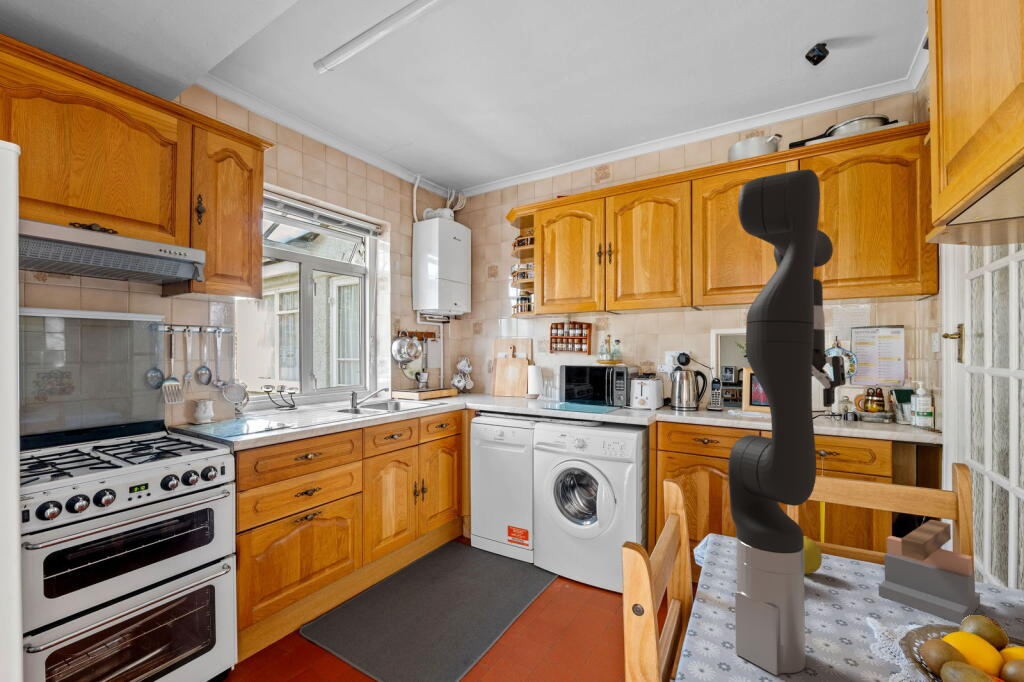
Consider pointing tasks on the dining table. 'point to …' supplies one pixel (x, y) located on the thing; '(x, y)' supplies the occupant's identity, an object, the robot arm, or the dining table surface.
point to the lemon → (811, 556)
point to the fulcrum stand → (931, 582)
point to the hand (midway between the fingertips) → (804, 405)
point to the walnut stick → (926, 539)
